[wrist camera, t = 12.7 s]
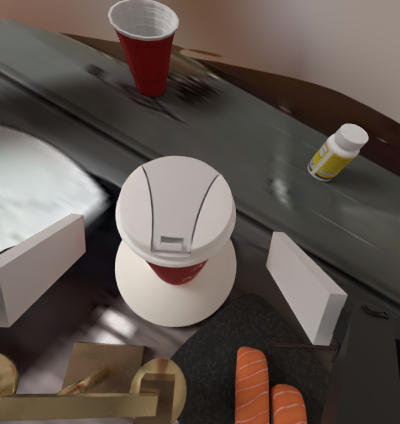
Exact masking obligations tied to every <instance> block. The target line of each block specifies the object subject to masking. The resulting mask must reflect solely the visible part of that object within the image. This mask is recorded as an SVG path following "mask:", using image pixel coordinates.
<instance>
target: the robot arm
mask: <svg viewBox="0 0 400 424" xmlns="http://www.w3.org/2000/svg"><path fill="white" fill-rule="evenodd" d="M84 253H85V235H84V218H83V215H78V214H71V215H69V216H67V217H65V218H64V219H62V220H60V221H58V222H57V223H55V224H53V225H51V226H49V227H48V228H46V229H44V230H42V231H41V232H39V233H37V234H35V235H34V236H32V237H30V238H28V239H27V240H25V241H23V242H21V243H20V244H18V245H16V246H13V247H10V248H7V249H5V250H3V251H1V252H0V327H10V326H11V325H12V324H13V323H14V322H15V321H16V320H17V319H18V318H19V317H20V316H21V315H22V314H23V313H24V312H25V311H26V310H27V309H28V308H29V307H30V306H31V305H32V304H33V303H34V302H35V301H36V300H37V299H38V298H39V297H40V296H41V295H42V294H43V293H44V292H45V291H46V290H47V289H48V288H49V287H50V286H51V285H52V284H53V283H54V282H55V281H56V280H57V279H58V278H59V277H60V276H61V275H62V274H63V273H64V272H65V271H66V270H67V269H68V268H69V267H70V266H72V265H73V264H74V263H75V262H76V261H77V260H78V259H79V258H80V257H81V256H82V255H83V254H84ZM266 267H267V268H268V270H269V272H270V273H271V275H272V277H273V279H274V280H275V282H276V284H277V285H278V287H279V289H280V290H281V292H282V294H283V295H284V297H285V299H286V300H287V302H288V304H289V305H290V307H291V309H292V310H293V312H294V314H295V316H296V317H297V319H298V321H299V322H300V324H301V326H302V327H303V329H304V331H305V332H306V334H307V336H308V337H309V339H310V341H311V342H312V344H313V345H326V346H329V345H330V342H331V339H332V337H333V335H334V337H335V338H336V339H337V341H338V342H339V343H338V346H337V349H336V351H335V354H334V356H333V359H332V363H333V367H332V372H331V377H330V382H329V386H328V391H327V396H326V401H325V405H324V410H323V415H322V420H321V424H400V321H399V320H395V319H392V317H391V315H390V314H389V313H388V312H387V311H386V310H384V309H383V308H381V307H380V306H378V305H376V304H374V303H371V302H368V301H364V300H359V299H358V298H357V297H356V296H355V295H354V294H353V293H352V292H351V291H349V290H348V289H347V288H346V287H345V286H343V284H342V283H341V282H340V281H338V279H337V278H336V277H335V276H333V275H332V274H331V273H330V272H328V271H326V270H325V269H323V268H320V267H319V266H318V265H317V264H316V263H315V262H314V261H313V260H312V259H311V258H310V257H308V256H307V255H306V254H305V253H304V252H303V251H302V250H301V249H300V248H299V247H298V246H297V245H296V244H295V243H294V242H293V241H292V240H291V239H290V238H289V237H288V236H287V235H286V234H285V233H283V232H273V236H272V241H271V245H270V250H269V254H268V259H267V263H266Z"/></svg>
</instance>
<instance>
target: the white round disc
mask: <svg viewBox="0 0 400 424" xmlns="http://www.w3.org/2000/svg"><path fill="white" fill-rule="evenodd" d="M115 274H116V281H117V285H118V288H119V290H120V293H121V295H122V297H123V298H124V300H125V302H126V303H127V304H128V306H129V307H130V308H131V309H132V310H133V311H134V312H135V313H136V314H138V315H139V316H141V317H142V318H144V319H145V320H147V321H149V322H152V323H154V324H158V325H161V326H168V327H181V326H187V325H191V324H194V323H197V322H199V321H201V320H204V319H205V318H207V317H208V316H210V315H211V314H213V313H214V312H215V311H216V310H217V309H218V308H219V307H220V306H221V305H222V304H223V303H224V301H225V300H226V298H227V297H228V295H229V293H230V291H231V289H232V287H233V284H234V280H235V275H236V255H235V250H234V247H233V244H232V242H231V240H230V238H229V240H228V241H227V243H226V244H225V246H224V247H223V248H222V249H221V250H220V251H219V252H218V253H216V254H215V255H214V256H212V257H211V258H209V260H208V261H207V263H206V264H205V265H204V267H203V268H202V270H201V271H200V272H199V274H198V275H197V276H196V277H195V278H194V279H193V280H191V281H190V282H188V283H186V284H182V285H172V284H168V283H166V282H164V281H163V280H161V279H160V278H159V277H158V276H157V275H156V273H155V272H154V271H153V270H152V268H151V267H150V266H149V265H148V263H147V262H146V261H145V260H144V259H142V258H140V257H139V256H138V255H136V254H135V253H134V252H132V250H131V249H130V248H129V247H128V246H127V245H126V244H125V242H124V240H122V242H121V244H120V246H119V249H118V252H117V256H116V262H115Z"/></svg>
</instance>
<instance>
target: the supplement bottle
mask: <svg viewBox="0 0 400 424" xmlns="http://www.w3.org/2000/svg"><path fill="white" fill-rule="evenodd" d="M367 141H368V135H367V133H366V132H365V131H364V130H363V129H362V128H361V127H359V126H357V125H354V124H344V125H343V126H341V128H340V129H339V130H338V131H337V132H336V133H335V134H333V135H331V136H330V137H329V138H328V139H327V141H326V142H325V143H324V144H323V146H322V147H321V148H320V149H319V151H318V152H317V153H316V154H315V156H314V157H313V158H312V159H311V161H310V162H309V163H308V171H309V173H310V174H311V175H312V176H313V177H314V178H316V179H317V180H320V181H329V180H331V179H333V178H334V177H335V176H336V175H337V174H338V173H339V172H340V171H341V170H342V169H343V168H344V167H345V166H346V165H347V164H348V163H350V162H351V161H352V160H353V159H354V158H355V157H356V156H357V155H358V153H359V149H360V148H361V147H362V146H363V145H364V144H365V143H366V142H367Z"/></svg>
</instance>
